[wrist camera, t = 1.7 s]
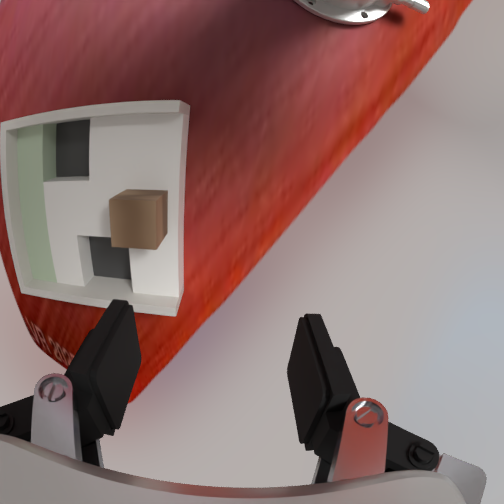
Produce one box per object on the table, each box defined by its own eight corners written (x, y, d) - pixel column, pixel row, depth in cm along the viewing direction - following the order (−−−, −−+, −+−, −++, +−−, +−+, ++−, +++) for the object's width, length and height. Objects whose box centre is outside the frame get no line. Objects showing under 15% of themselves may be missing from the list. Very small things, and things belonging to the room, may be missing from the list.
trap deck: (190, 105, 24) (179, 100, 20) (183, 290, 32) (175, 316, 27) (28, 120, 23) (0, 122, 18) (41, 274, 30) (21, 293, 26)
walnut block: (167, 190, 24) (155, 200, 21) (167, 233, 26) (156, 250, 22) (126, 189, 24) (108, 199, 20) (127, 230, 26) (111, 246, 22)
